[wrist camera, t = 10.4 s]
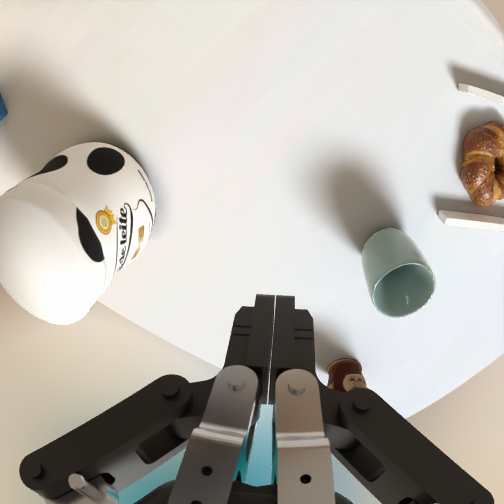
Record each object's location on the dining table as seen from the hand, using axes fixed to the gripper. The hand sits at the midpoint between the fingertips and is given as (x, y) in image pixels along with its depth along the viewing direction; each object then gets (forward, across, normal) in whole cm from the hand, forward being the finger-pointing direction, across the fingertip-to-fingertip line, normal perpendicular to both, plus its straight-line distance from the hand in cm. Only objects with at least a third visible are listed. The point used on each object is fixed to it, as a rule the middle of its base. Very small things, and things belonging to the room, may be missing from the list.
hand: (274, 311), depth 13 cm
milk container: (+27, +24, +6) cm, 37 cm away
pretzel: (+28, -28, -2) cm, 39 cm away
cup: (+27, -14, +12) cm, 33 cm away
